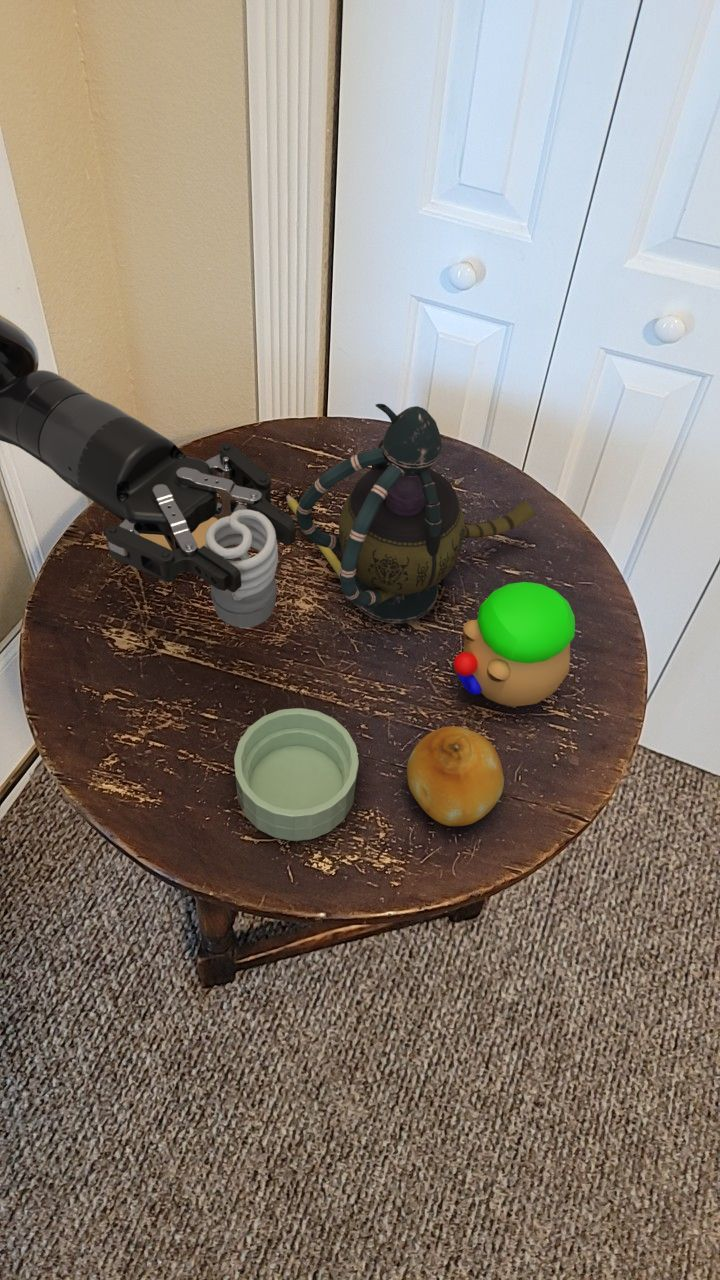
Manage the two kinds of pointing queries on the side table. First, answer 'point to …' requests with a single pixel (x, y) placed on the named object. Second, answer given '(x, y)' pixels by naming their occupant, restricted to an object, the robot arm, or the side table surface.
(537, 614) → the figurine
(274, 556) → the light bulb
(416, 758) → the fruit
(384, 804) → the side table surface
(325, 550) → the pencil
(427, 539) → the teapot
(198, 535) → the coaster
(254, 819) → the bowl
